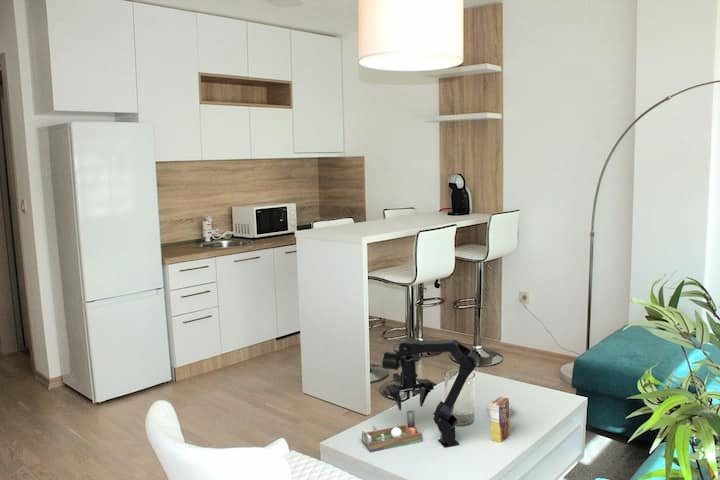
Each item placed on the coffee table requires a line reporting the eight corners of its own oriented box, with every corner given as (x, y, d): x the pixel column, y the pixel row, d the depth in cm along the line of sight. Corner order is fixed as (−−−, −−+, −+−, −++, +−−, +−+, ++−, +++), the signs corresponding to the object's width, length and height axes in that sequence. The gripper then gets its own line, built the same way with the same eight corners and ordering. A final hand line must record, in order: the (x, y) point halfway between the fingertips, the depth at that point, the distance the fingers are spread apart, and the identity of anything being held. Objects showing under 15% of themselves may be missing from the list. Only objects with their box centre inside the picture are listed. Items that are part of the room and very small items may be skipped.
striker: (418, 437, 242) (417, 414, 240) (411, 439, 241) (410, 416, 240) (411, 430, 248) (410, 408, 247) (404, 431, 247) (403, 409, 246)
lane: (422, 441, 241) (421, 427, 240) (370, 452, 234) (369, 437, 233) (412, 431, 250) (412, 417, 249) (362, 441, 243) (361, 427, 243)
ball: (403, 439, 241) (403, 429, 241) (393, 441, 240) (393, 431, 239) (399, 435, 245) (399, 424, 245) (389, 437, 244) (389, 426, 243)
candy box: (500, 432, 246) (500, 396, 244) (510, 434, 243) (509, 398, 241) (490, 440, 239) (489, 403, 237) (500, 443, 237) (499, 405, 235)
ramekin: (508, 410, 267) (508, 399, 266) (515, 421, 256) (515, 409, 255) (483, 412, 267) (482, 400, 266) (489, 422, 256) (488, 410, 255)
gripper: (422, 361, 252) (423, 397, 254) (380, 368, 246) (381, 405, 248) (433, 369, 241) (435, 406, 243) (389, 376, 236) (391, 415, 237)
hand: (410, 408), depth 243 cm, fingers open, 9 cm apart
